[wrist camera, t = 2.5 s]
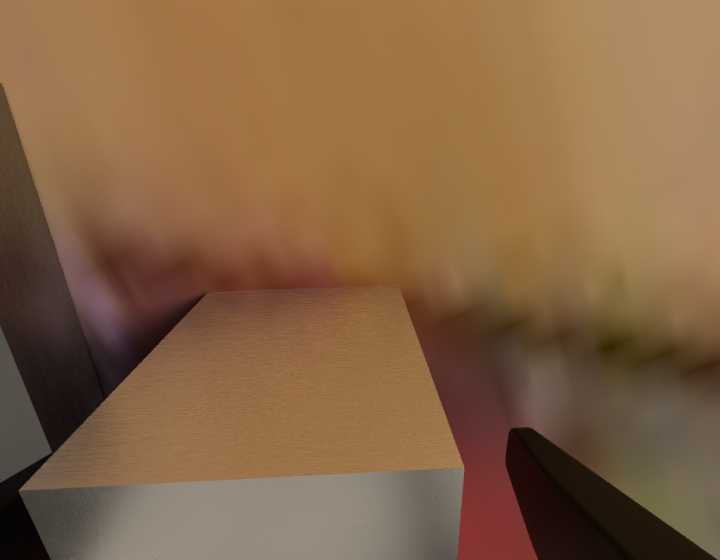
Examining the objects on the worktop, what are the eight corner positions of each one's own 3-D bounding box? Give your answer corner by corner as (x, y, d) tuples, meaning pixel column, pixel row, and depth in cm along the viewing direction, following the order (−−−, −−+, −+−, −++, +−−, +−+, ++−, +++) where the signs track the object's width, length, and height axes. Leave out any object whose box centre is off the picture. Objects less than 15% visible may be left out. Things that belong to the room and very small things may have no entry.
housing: (397, 283, 10) (463, 468, 4) (397, 433, 12) (445, 707, 6) (208, 291, 10) (18, 490, 4) (236, 441, 11) (128, 727, 6)
